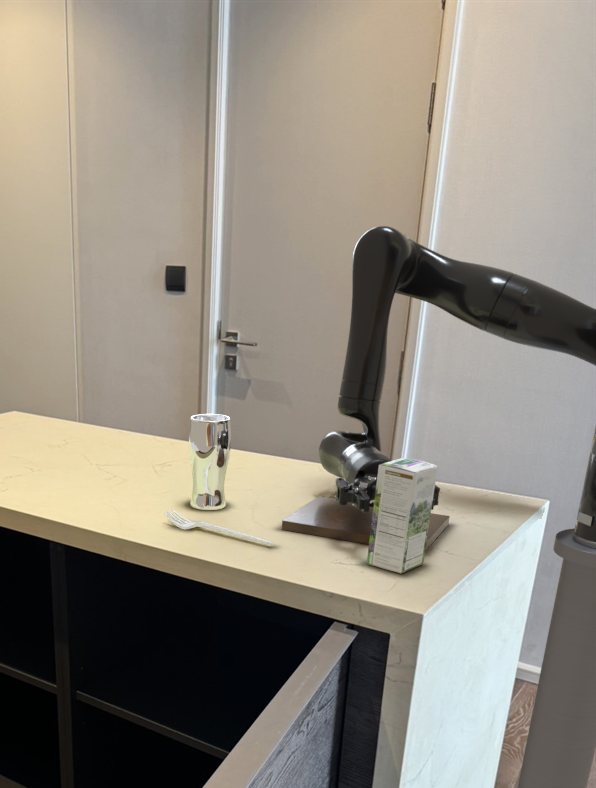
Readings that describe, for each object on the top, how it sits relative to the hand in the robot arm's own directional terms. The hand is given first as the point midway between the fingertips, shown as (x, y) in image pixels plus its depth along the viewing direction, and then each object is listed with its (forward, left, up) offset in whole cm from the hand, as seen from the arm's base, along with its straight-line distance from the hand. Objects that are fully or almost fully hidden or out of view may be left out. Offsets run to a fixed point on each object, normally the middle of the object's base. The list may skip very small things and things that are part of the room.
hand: (398, 506), depth 119 cm
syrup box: (-1, +2, -8) cm, 8 cm away
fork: (+27, +2, -8) cm, 28 cm away
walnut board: (+8, -13, -8) cm, 17 cm away
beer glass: (+35, -11, -8) cm, 38 cm away
